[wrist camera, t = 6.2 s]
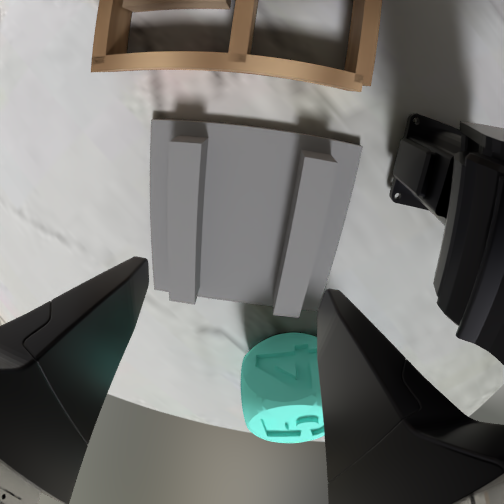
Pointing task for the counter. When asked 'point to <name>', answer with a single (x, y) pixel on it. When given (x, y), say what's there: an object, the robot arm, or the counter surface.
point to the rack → (239, 49)
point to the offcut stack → (174, 4)
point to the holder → (246, 212)
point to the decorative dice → (283, 389)
